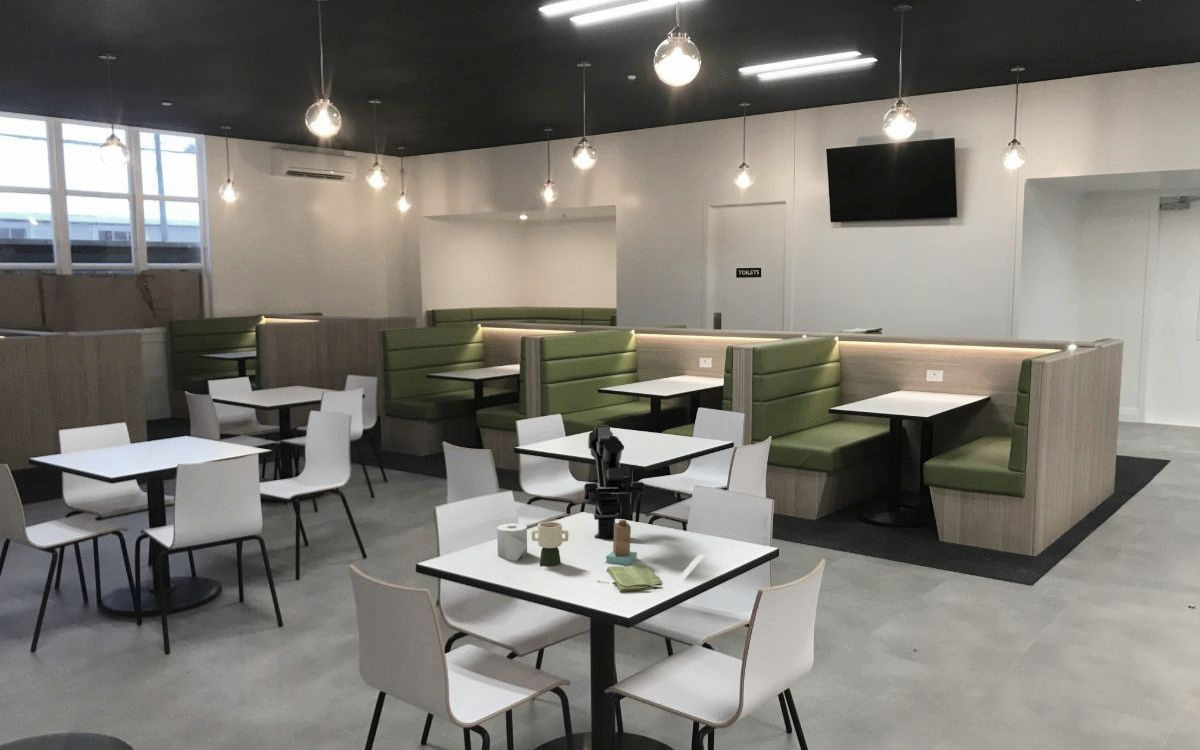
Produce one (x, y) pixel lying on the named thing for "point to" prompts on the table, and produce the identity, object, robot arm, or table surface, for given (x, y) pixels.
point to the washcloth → (633, 577)
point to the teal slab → (621, 558)
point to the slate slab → (622, 564)
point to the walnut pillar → (622, 538)
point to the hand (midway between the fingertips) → (616, 514)
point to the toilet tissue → (512, 541)
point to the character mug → (550, 542)
